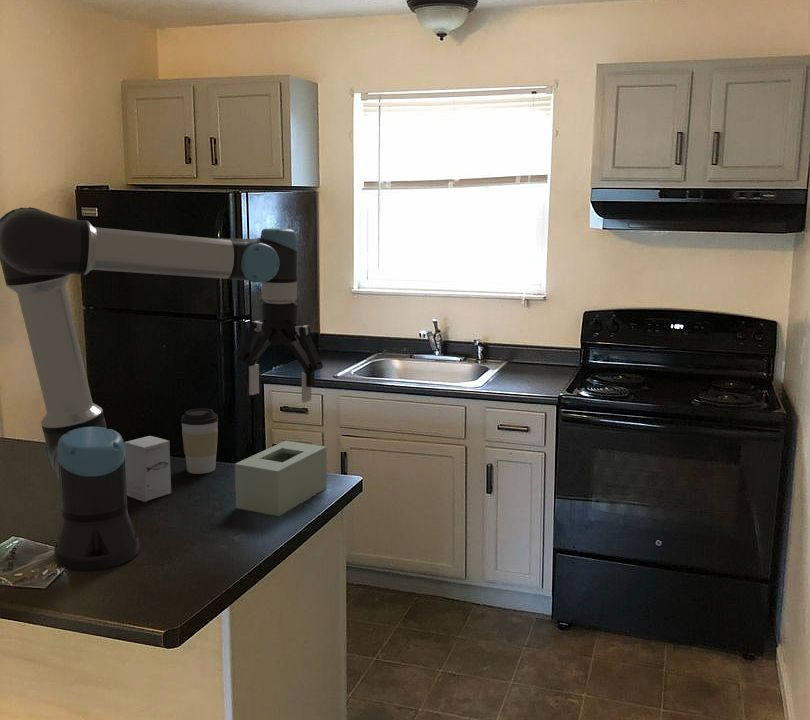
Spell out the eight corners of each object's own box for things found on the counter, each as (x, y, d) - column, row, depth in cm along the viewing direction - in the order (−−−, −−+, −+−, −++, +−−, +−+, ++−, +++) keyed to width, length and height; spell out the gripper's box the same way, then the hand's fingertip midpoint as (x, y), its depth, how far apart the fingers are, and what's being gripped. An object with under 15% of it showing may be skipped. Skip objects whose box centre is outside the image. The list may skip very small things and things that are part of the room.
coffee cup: (174, 471, 216) (172, 411, 213) (199, 461, 224) (197, 404, 221) (203, 477, 212) (201, 416, 209) (227, 467, 219) (225, 408, 217)
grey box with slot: (278, 516, 187) (277, 471, 185) (235, 507, 192) (234, 463, 190) (326, 488, 205) (326, 446, 203) (286, 481, 209) (285, 440, 208)
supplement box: (145, 502, 194) (142, 447, 192) (124, 495, 199) (122, 441, 196) (172, 493, 200) (170, 440, 198) (152, 487, 205) (149, 434, 202)
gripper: (338, 303, 188) (338, 400, 192) (241, 295, 198) (243, 387, 202) (320, 307, 181) (320, 407, 185) (221, 298, 192) (223, 394, 196)
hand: (280, 397), depth 194 cm, fingers open, 13 cm apart
